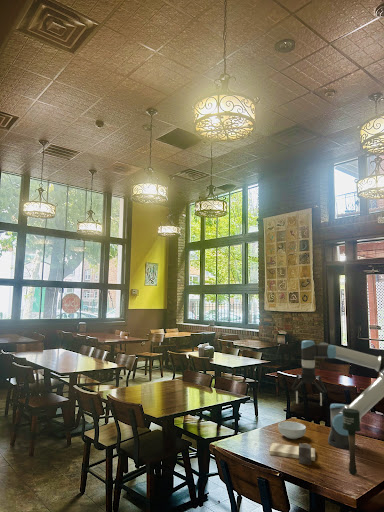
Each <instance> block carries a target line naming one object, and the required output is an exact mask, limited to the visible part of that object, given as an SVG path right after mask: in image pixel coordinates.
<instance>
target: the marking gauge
mask: <svg viewBox="0 0 384 512" xmlns="http://www.w3.org/2000/svg"><path fill="white" fill-rule="evenodd" d="M298 446H299V459H298V464H302V465H309V466H311V465H312V460H311V448H312V445H311V444H308V443H304V442H303V443H298Z"/></svg>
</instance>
